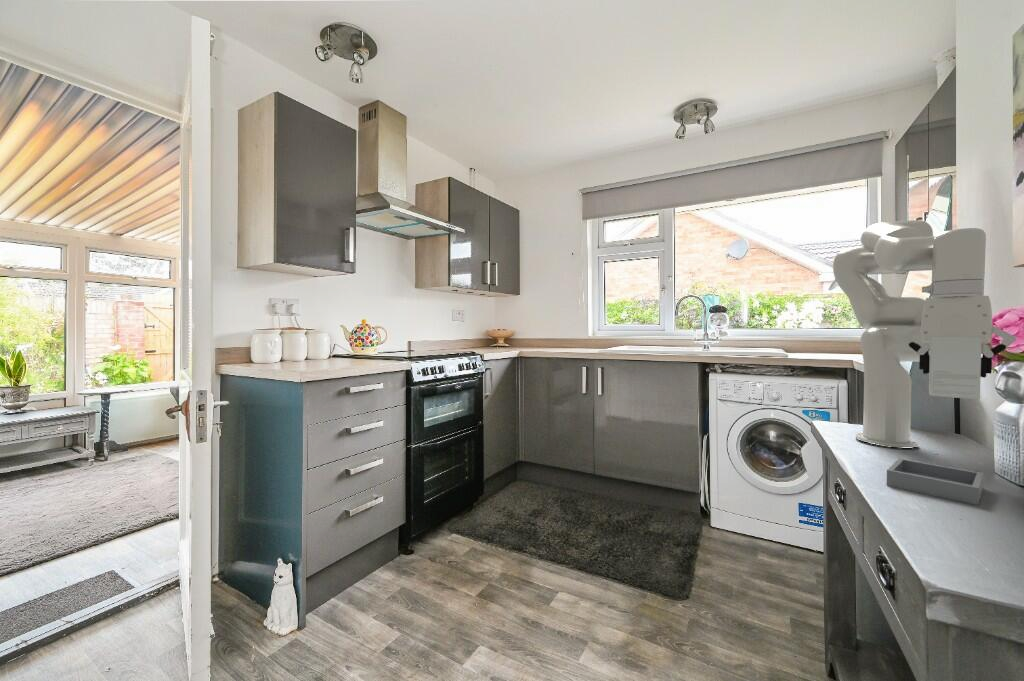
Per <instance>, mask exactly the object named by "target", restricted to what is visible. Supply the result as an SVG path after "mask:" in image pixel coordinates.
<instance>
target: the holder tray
mask: <svg viewBox="0 0 1024 681" xmlns="http://www.w3.org/2000/svg"><path fill="white" fill-rule="evenodd" d="M886 486H888V487H892V488H893V487H894V488H898V489H902V490H906V491H911V492H912V491H913V492H916V493H920V494H925V495H930V496H935V497H938V498H939V497H940V498H944V499H948V500H952V501H957V502H962V503H966V504H969V505H970V504H971V505H977V506H979V504H980V500H981V497H982V494H983V491H984V490H983V489H984V472H978V471H973V470H967V469H962V468H957V467H950V466H945V465H939V464H934V463H928V462H923V461H917V460H911V459H905V458H901V457H900V458H899V457H898V459H897V460H895V461H894V463H893V464H892V465H890V466H889V467H888V469H886Z"/></svg>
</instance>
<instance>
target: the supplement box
mask: <svg viewBox="0 0 1024 681" xmlns="http://www.w3.org/2000/svg"><path fill="white" fill-rule="evenodd" d="M981 346H982V337H980V336H930V364H929V373H928V374H929V375H928V377H929V378H928V393H929V396H930V397H944V398H955V399H956V398H958V399H966V400H967V399H969V400H980V398H981V378H982V377H981V358H982V352H981Z"/></svg>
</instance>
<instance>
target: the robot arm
mask: <svg viewBox="0 0 1024 681" xmlns="http://www.w3.org/2000/svg"><path fill="white" fill-rule="evenodd" d="M986 234H987V233H986V231H984V229H982V228H977V227H967V228H965V227H964V228H955V229H949V230H945V231H942V232H939V233H937V234H936V235H935V236H934V231H933V227H932V226H931V224H929V222H927V221H925V220H919V219H913V220H898V221H884V222H879V223H874V224H872V225H870V226H868V227H867V228H866V229H865V230H863V232H862V234H861V235H860V243H861V246H855V247H849V248H845V249H843V250H841V251H838V253H836V255H834V256H835V257H834V258H833V264H832V270H833V277H834V280H835V281H836V283H837V285H838V287H839V288H840V289H841V291H842V292H843V293H844V294H845V295H846V297H847V299H848V301H849V303H850V306H851V308H852V310H853V313H854V315H855V318H856V320H857V322H858V324H859V326H861V327H862V328H863V329H864V331H863V332H862V334H861V336H860V341H859V342H860V349H861V354H862V359H863V361H862V362H863V378H864V379H863V410H862V411H863V413H862V414H863V418H862V419H863V420H862V422H863V423H862V432H858V433H856V434H855V439H856V438H858V439H860V440H862V441H866V442H870V443H875V444H879V445H885V446H891V447H917V446H918V447H919V442H918V441H917V440H914V439H911V420H912V419H911V416H912V410H911V408H912V378H911V374H909V372H908V371H907V370H906V368H904V366H903V365H902V364H901V363H900V362H902V363H903V362H904V363H905V362H909V363H910V362H916V363H918V362H919V363H918V366H919V367H918V368H919V370H922V373H923V374H924V375H928V374H929V364H930V336H980V337H982V346H981V354H982V356H981V377H980V378H987V374H992V369H993V367H992V366H993V357H994V356H997V355H998V354H999V353H1001V352H1003V351H1004V350H1006V349H1007V348H1009V347H1010V346H1011V345H1013V343H1015V341H1017V336H1015V335H1013V334H1011V333H1009V332H1007V331H1005V330H1003V329H1001V328H999V327H997V326H995V325H993V310H992V309H993V308H992V303H991V299H990V295H985V277H986V276H985V275H986V274H985V273H986V271H985V270H986V250H987V249H986V245H987V235H986ZM920 271H921V272H923V271H930V272H931V283H930V284H929V285H927V286H925V285H924V286H921V293H927V294H929V295H930V297H926V298H925V299H923V298H920V297H914V296H913V297H912V296H906V297H905V296H898V297H895V296H890V295H889V294H888V293H887V291H886V288H885V287H884V285H883V284H881V283H880V282H879V281H877V279H874V278H872V277H870V276H869V275H890V274H893V275H894V274H899V273H903V272H920ZM993 335H996V336H998V337H1000V338H1002V341H1001V342H1000V343H999V344H997V345H996V346H994V347H993V348H991V346H989V345H988V344H989V343H991V342H992V338H993ZM918 447H917V448H918Z"/></svg>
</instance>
